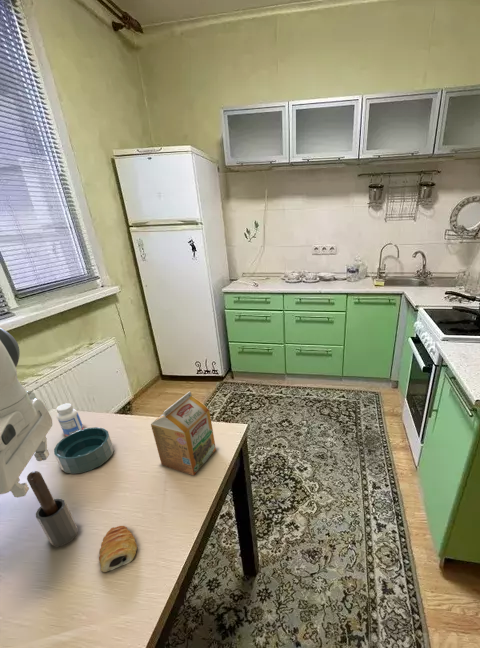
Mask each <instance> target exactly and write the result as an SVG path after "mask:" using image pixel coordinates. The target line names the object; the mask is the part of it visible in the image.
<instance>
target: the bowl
mask: <svg viewBox="0 0 480 648" xmlns="http://www.w3.org/2000/svg"><path fill="white" fill-rule="evenodd" d="M109 433H110V432H109V431H108V430H107V429H105V427H98V426H95V427H86V428H84V429H82V430H79V431H76V432H74V433H72V434H70V435H68V436H65V437H63V438H62V439H61V440H60V441H59V442H58V443H57V444H56V445H55V447H54V449H53V454H54V457H55V459H56V461H57V463H58V466H59V468H60V469H61V470H62V471H63V472H64V473H66V474H71V475H74V474H83V473H87V472H89V471H93V470H94V469H96V468H98V467H101V466H102V465H103V464H104V463H106V462H107V461H108V460H109V459H110V458H111V457H112V455H113V454H114V450H115V448H114V444H113V441H112V440H111V439H112V438H111V436H110V434H109Z"/></svg>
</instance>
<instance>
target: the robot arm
mask: <svg viewBox="0 0 480 648" xmlns="http://www.w3.org/2000/svg"><path fill="white" fill-rule="evenodd" d="M20 353H21V351H20V346H19V343H18V341H17V340H16V339H15V337H14V336H13V335H12V334H11V333H9V332H8V331H7V330H5V329H3V328H2V327H0V496H2V495H4V494H8V493H9V492H11V494H12V495H13V497H14V498H22V497H23V498H24V497H25V496H26V495H27V493H28V491H29V490H30V486H28V485H29V484H27V483H28V482H22V483H21V482H20V481H21V479H20V476H21V475H22V473H23V472H24V470H25V468H26V467H27V466H28V464H29V463H30V461H31V459H32V458H33V456H34V458H35V460H36V461H37V462H42V461H46V460H47V459H48V457H49V456H50V452H49V450H48V441H47V440H48V439H47V434H49V432H50V431H51V429H52V427H53V418H52V415H51V413H50V412H49V410H48V408H47V407H46V405H45V404H44V402H43V401H42V400H41V399H40V398H37V397H36V394H35V392H33V391H30V390H27V389H26V388H25V386H24V385H22V383H21V382H20V381H19V378H18V370H17V366H18V364H19V361H20Z"/></svg>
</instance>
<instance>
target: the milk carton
mask: <svg viewBox="0 0 480 648" xmlns="http://www.w3.org/2000/svg"><path fill="white" fill-rule="evenodd" d="M150 427H151V431H152V434H153V438H154V442H155V445H156V448H157V453H158V456H159V461H160V464H161V465H162V466H166V468H168V469H172V470H175V471H178V472H182V473H184V474H188V475H191V476H195V475H196V473H197V472H198V471H200V469H201V468H202V467H203V466H204V465H205V463H207V462H208V460H209V459H210V457H211V456H212V455H213V454H214V453H215V452H216V451H217V448H216V447H217V446H216V442H215V441H216V440H215V436H214V430H213V424H212V418H211V411H210V409H209V408H208V407H207V405H206V404H204V403H203V402H201V401H200V400H199V399H197V398H196V397H195V396H193V395H192V392H191V391H188V392H187V393H185V394H184V395H183V396H182V397H180V398H179V399H177V400H176V401H175V402H174V403H173V404H171V405H170V406H169V407H167V408H166V409H165V410H164V411H163V413H162V414H161V415H159V417H157V418H156V419H155V420H154V421H152V422H151V424H150Z"/></svg>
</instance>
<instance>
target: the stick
mask: <svg viewBox="0 0 480 648" xmlns="http://www.w3.org/2000/svg"><path fill="white" fill-rule="evenodd" d="M26 480H27V483H28V485H29V487H30V488H31V490H32V492H33V493H34V495H35V498H36V499H37V502H38V503H39V505H40V507H42V509H43V511H44V512H45V514H46V516H47V517H48V516H51V515H53V514H55V513H56V512H58V510H59V509H58V507H57V505H56V503H55V501H54V499H55V498H54V497H53V494H52V493H51V491H50V489H49V486H48V485H47V483H46V481H45V478H44V477H43V475H42V473H41V472H40V471H37V470H34V471H31V472H30V473H28V474H27V476H26Z"/></svg>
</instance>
